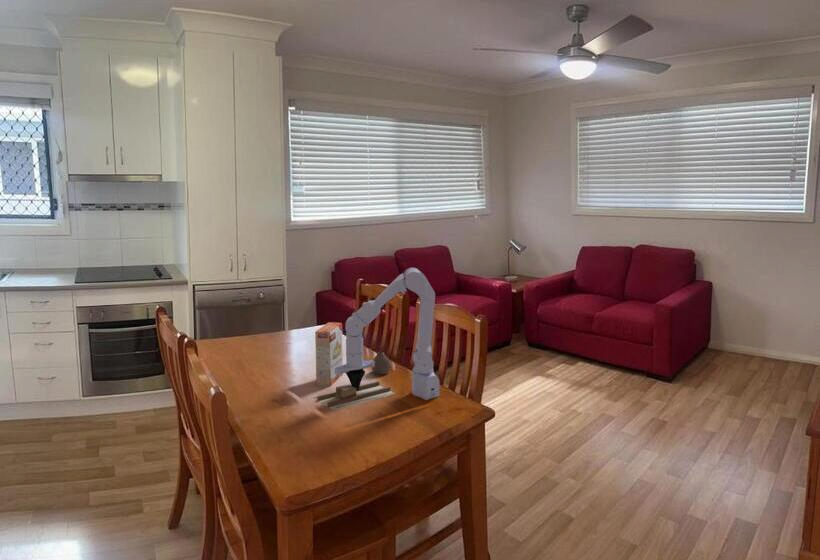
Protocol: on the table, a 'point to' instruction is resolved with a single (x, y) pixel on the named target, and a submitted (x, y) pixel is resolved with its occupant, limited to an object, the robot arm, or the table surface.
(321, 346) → the cracker box
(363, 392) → the birch board
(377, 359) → the vase
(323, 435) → the table surface
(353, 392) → the block
